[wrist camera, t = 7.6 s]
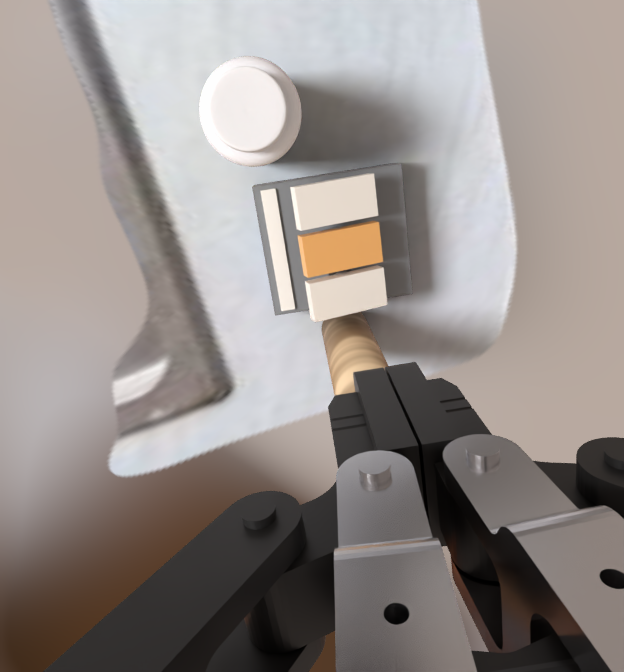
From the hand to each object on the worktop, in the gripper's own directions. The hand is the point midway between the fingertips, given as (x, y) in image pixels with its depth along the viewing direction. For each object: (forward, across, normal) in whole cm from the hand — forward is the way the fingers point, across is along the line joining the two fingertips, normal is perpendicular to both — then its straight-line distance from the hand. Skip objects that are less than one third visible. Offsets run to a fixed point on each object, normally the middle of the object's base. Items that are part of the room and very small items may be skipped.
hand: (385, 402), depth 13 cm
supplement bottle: (+28, +3, -8) cm, 29 cm away
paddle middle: (+23, -1, 0) cm, 23 cm away
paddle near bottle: (+23, -1, -2) cm, 23 cm away
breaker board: (+27, -1, +1) cm, 27 cm away
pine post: (+27, -1, +8) cm, 28 cm away
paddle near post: (+23, -1, +4) cm, 23 cm away
